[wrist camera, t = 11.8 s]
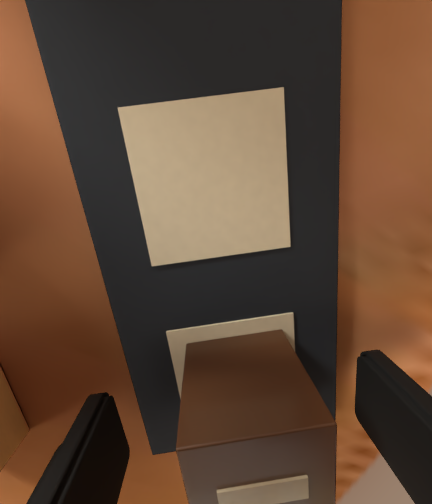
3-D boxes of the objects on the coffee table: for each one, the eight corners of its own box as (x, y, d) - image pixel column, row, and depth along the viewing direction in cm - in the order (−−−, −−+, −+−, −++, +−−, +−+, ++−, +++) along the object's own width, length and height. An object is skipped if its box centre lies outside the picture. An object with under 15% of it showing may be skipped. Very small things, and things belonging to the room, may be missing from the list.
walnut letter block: (199, 417, 10) (199, 555, 6) (185, 342, 9) (174, 453, 5) (286, 403, 11) (337, 530, 7) (282, 328, 9) (339, 426, 6)
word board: (154, 442, 12) (151, 457, 11) (-33, -247, 6) (-65, -307, 5) (329, 414, 12) (336, 427, 11) (333, -276, 6) (350, -339, 5)
